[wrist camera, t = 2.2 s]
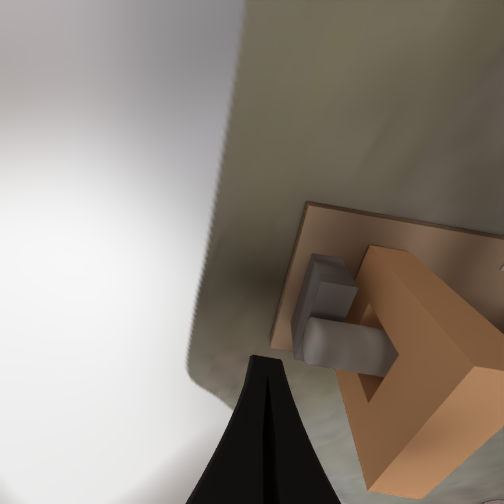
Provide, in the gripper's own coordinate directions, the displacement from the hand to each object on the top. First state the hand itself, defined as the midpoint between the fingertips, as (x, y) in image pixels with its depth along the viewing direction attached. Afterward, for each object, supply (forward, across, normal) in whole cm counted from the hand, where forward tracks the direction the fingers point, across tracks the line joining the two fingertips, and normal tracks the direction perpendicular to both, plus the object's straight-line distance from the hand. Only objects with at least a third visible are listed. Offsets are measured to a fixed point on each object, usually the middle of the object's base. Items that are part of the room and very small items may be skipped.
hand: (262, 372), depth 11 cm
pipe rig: (+8, -11, 0) cm, 14 cm away
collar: (+7, -7, 0) cm, 10 cm away
